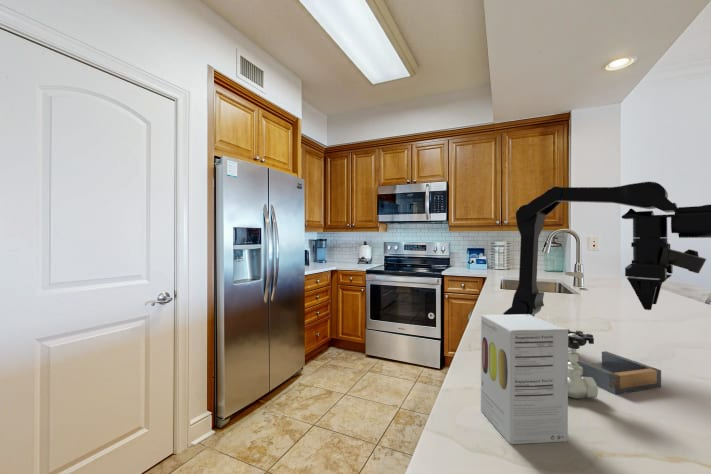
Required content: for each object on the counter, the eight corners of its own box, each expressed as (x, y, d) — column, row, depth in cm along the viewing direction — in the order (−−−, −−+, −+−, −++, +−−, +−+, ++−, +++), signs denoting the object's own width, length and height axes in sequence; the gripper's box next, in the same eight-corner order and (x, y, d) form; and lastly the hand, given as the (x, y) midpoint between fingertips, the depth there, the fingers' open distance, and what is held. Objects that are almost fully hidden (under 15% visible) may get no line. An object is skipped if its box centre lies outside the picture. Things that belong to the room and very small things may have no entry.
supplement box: (479, 410, 55) (478, 313, 55) (529, 407, 55) (528, 312, 56) (510, 446, 45) (510, 329, 45) (570, 442, 46) (570, 328, 46)
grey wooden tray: (564, 371, 71) (564, 355, 71) (605, 366, 74) (605, 351, 74) (615, 394, 60) (615, 376, 60) (661, 387, 63) (661, 370, 63)
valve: (603, 408, 55) (602, 340, 55) (561, 404, 57) (561, 338, 57) (583, 390, 62) (583, 329, 62) (547, 387, 63) (547, 327, 63)
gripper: (701, 237, 59) (702, 320, 59) (703, 238, 71) (704, 306, 71) (624, 238, 67) (625, 310, 67) (638, 238, 80) (638, 299, 79)
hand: (650, 306), depth 71 cm, fingers open, 9 cm apart
